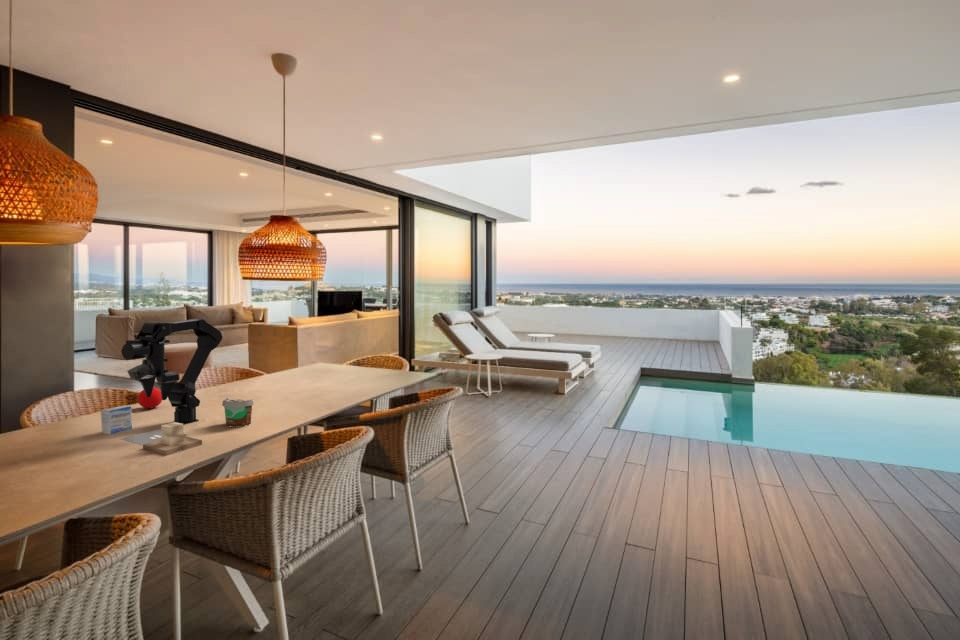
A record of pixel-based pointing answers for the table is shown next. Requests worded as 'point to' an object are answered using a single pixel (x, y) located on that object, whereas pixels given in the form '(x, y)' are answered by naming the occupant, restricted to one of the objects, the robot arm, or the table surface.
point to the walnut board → (168, 449)
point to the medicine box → (116, 419)
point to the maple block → (172, 433)
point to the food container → (237, 412)
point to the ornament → (150, 399)
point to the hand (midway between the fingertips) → (156, 398)
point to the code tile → (145, 437)
